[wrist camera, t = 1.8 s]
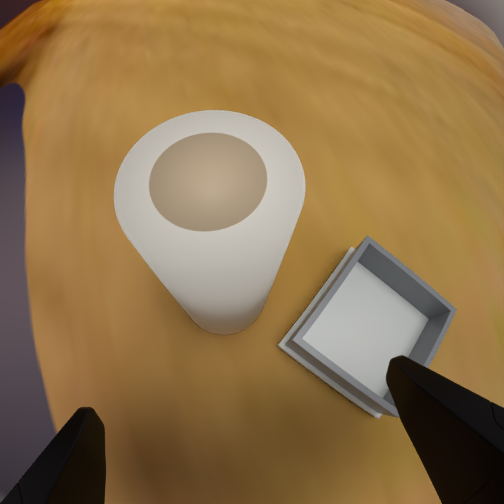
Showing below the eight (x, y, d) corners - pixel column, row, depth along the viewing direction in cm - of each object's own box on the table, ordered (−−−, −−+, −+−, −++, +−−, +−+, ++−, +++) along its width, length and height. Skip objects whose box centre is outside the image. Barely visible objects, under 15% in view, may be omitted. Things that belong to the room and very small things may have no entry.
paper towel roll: (229, 351, 21) (216, 317, 8) (167, 298, 22) (80, 192, 9) (281, 289, 22) (340, 169, 9) (219, 241, 23) (204, 88, 10)
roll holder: (375, 417, 19) (398, 423, 16) (277, 345, 21) (284, 340, 18) (434, 318, 22) (460, 308, 19) (349, 249, 24) (365, 229, 20)
